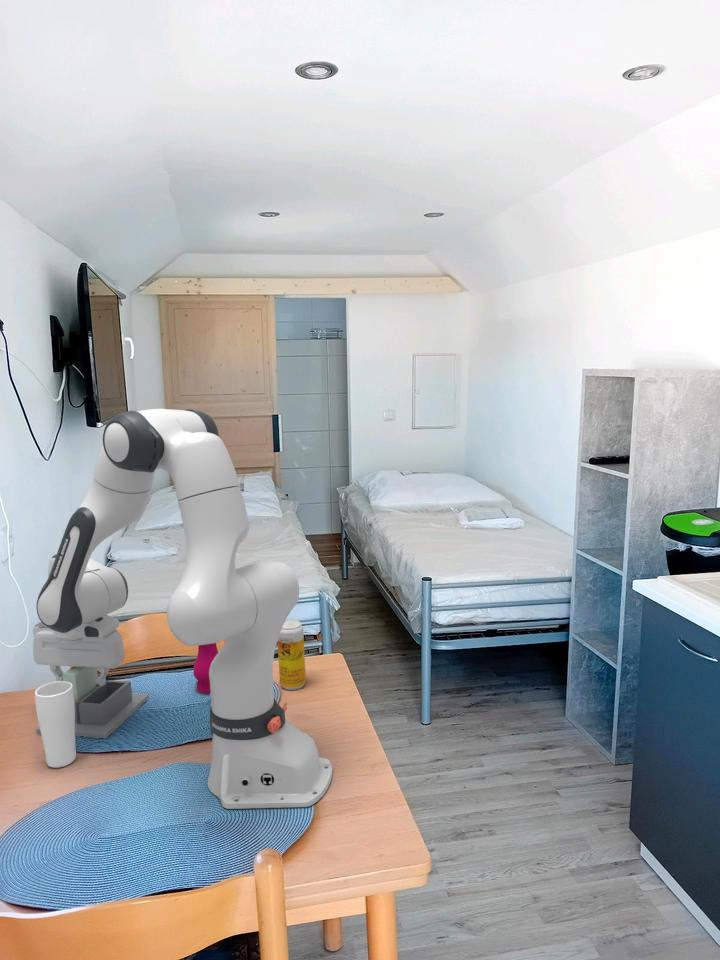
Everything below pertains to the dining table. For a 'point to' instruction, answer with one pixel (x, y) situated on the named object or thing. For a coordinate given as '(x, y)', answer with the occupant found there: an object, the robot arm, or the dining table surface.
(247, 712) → the robot arm
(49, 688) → the drinking glass
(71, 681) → the rectangular block
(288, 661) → the beer can
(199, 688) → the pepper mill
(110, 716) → the dish rack
